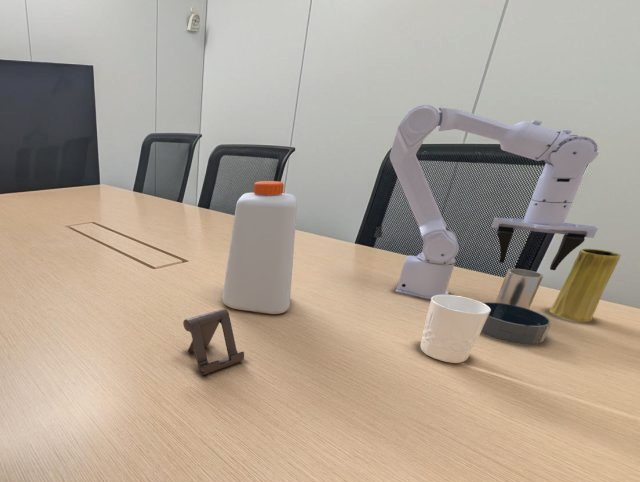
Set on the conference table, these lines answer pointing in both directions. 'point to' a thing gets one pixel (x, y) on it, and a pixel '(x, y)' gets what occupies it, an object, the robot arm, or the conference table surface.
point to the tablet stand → (203, 333)
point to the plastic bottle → (261, 250)
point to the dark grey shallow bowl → (515, 324)
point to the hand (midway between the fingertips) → (526, 265)
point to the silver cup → (519, 287)
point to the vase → (585, 284)
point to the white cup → (453, 327)
